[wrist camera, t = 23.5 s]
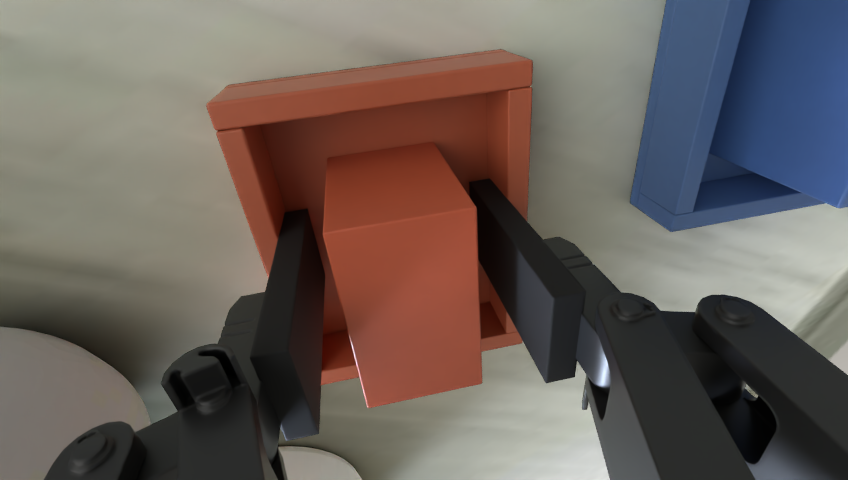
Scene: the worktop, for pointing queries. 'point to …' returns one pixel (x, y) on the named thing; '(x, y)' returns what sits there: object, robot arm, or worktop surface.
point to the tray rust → (368, 131)
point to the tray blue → (698, 126)
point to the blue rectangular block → (790, 97)
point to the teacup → (55, 400)
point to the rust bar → (405, 270)
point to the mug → (315, 465)
